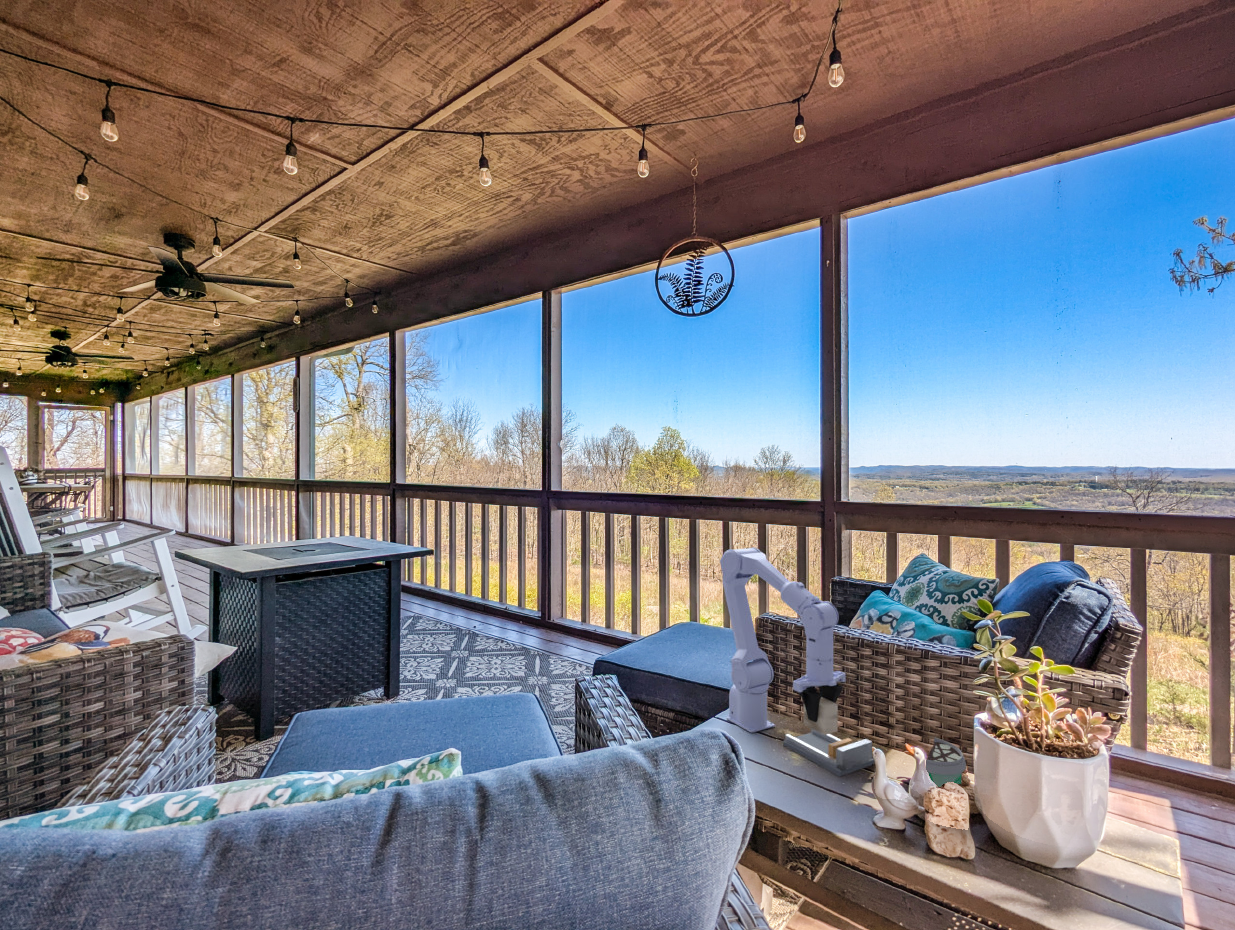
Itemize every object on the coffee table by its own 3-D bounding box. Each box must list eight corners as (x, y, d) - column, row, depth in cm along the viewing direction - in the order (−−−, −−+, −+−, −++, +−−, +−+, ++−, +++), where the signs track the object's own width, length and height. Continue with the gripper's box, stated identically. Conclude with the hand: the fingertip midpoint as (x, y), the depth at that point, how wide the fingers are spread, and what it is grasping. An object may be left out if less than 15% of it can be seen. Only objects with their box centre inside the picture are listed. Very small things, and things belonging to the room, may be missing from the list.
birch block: (803, 724, 129) (803, 697, 129) (816, 720, 131) (816, 694, 131) (824, 735, 124) (824, 707, 124) (837, 731, 126) (837, 703, 126)
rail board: (783, 745, 133) (783, 723, 133) (816, 735, 138) (816, 714, 138) (839, 776, 119) (839, 752, 119) (874, 764, 124) (874, 740, 124)
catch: (828, 758, 124) (828, 744, 124) (848, 751, 127) (848, 737, 127) (832, 760, 123) (832, 746, 123) (852, 753, 126) (852, 740, 126)
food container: (962, 827, 102) (962, 770, 102) (924, 814, 105) (923, 759, 106) (970, 796, 111) (969, 745, 112) (934, 786, 115) (934, 736, 115)
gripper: (810, 667, 121) (810, 731, 121) (856, 657, 128) (856, 718, 127) (785, 657, 127) (785, 719, 127) (831, 649, 134) (831, 707, 134)
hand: (819, 718), depth 128 cm, fingers closed on birch block, 4 cm apart
